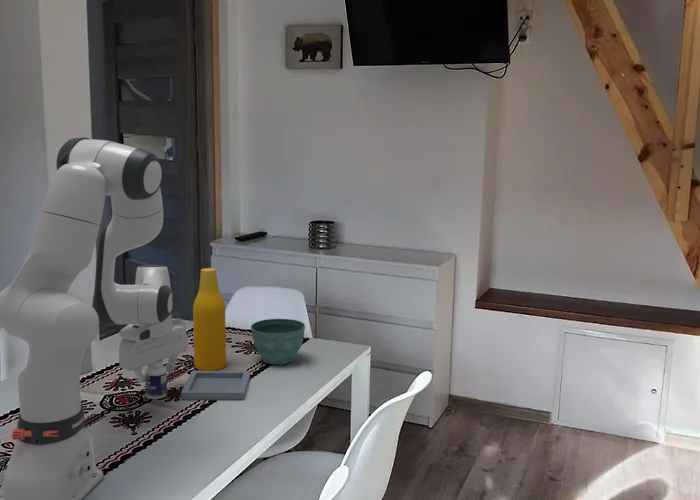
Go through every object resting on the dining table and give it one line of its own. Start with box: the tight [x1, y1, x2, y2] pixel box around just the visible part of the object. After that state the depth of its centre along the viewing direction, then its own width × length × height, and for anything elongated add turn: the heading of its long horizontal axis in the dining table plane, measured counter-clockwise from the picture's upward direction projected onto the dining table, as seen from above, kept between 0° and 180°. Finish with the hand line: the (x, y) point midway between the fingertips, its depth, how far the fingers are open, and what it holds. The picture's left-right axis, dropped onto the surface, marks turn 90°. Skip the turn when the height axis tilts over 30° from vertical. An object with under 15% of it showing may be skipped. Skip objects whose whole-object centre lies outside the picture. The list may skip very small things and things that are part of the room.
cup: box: [80, 343, 93, 376], centre depth 202 cm, size 7×10×9 cm
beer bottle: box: [192, 267, 227, 371], centre depth 206 cm, size 9×9×29 cm
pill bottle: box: [144, 359, 168, 400], centre depth 185 cm, size 5×5×10 cm
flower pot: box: [250, 318, 306, 366], centre depth 214 cm, size 16×16×11 cm
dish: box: [180, 370, 251, 401], centre depth 192 cm, size 16×16×2 cm
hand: (156, 376), depth 185 cm, fingers open, 8 cm apart
